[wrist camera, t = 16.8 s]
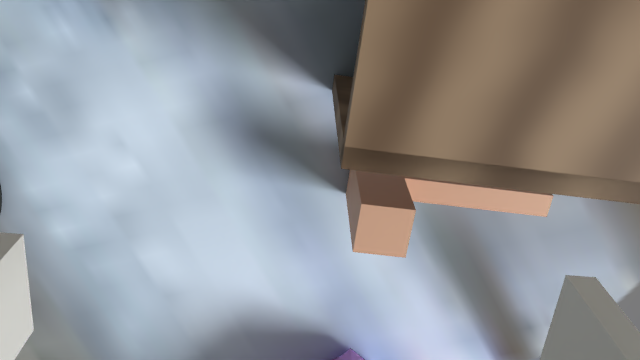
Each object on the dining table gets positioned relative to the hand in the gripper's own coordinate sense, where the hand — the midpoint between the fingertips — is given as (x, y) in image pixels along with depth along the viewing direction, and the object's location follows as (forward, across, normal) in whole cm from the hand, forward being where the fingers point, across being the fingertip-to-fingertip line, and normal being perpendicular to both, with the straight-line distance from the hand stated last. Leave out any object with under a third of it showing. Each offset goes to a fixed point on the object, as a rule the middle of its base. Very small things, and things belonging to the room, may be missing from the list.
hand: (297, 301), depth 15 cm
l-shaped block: (+31, +12, -10) cm, 35 cm away
